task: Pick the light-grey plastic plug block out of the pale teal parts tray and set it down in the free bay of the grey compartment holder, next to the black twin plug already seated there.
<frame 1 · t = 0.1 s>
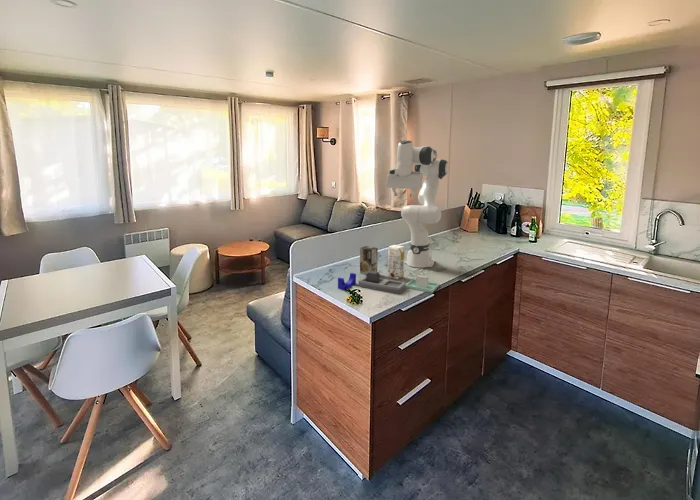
hand: (403, 196, 215), 48 cm above the table, fingers open, 8 cm apart
plug: (422, 281, 211), in the tray
coffee box: (368, 273, 236), on the table
juice carton: (395, 277, 228), on the table
tray: (422, 286, 212), on the table
grey compartment holder: (381, 287, 212), on the table
cable clip: (348, 286, 213), on the table
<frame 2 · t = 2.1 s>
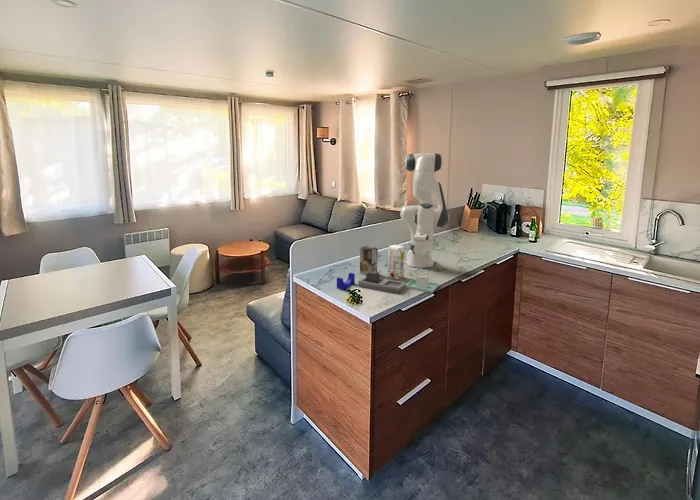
hand: (423, 259, 208), 16 cm above the table, fingers open, 8 cm apart
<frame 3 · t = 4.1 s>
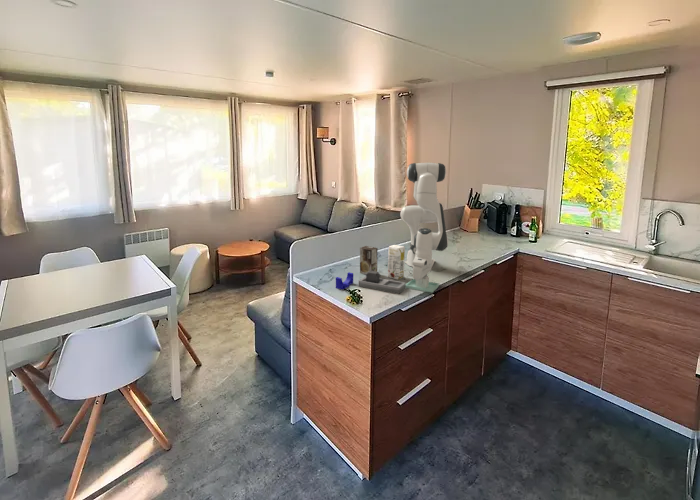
hand: (422, 283, 212), 2 cm above the table, fingers closed on plug, 4 cm apart
plug: (422, 281, 211), in the tray, touching gripper
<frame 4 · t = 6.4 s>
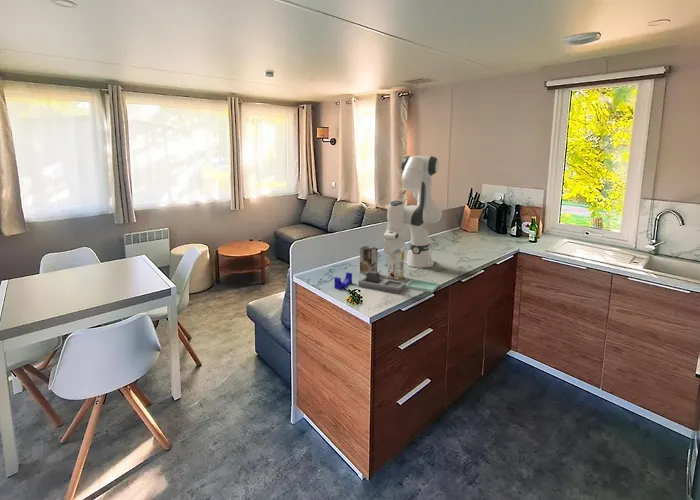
hand: (394, 258, 204), 18 cm above the table, fingers closed on plug, 4 cm apart
plug: (394, 256, 204), point 18 cm above the table, touching gripper
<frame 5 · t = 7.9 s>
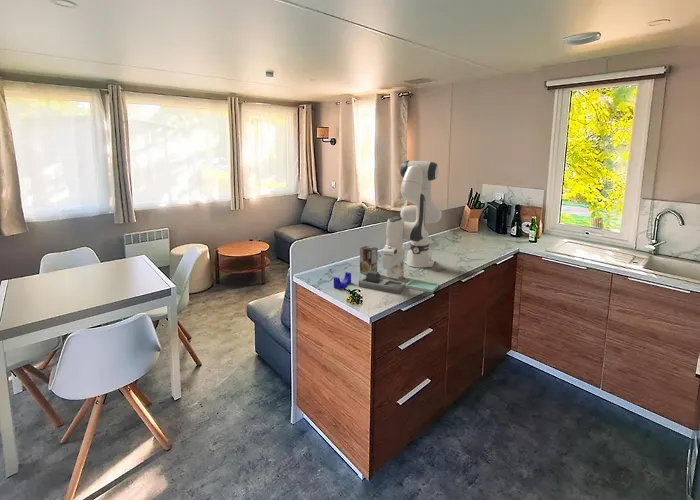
hand: (393, 272, 206), 9 cm above the table, fingers closed on plug, 4 cm apart
plug: (393, 271, 206), point 10 cm above the table, touching gripper
when the fingers open (6 cm above the table, at t = 9.0 s): plug drops 2 cm, resting on grey compartment holder.
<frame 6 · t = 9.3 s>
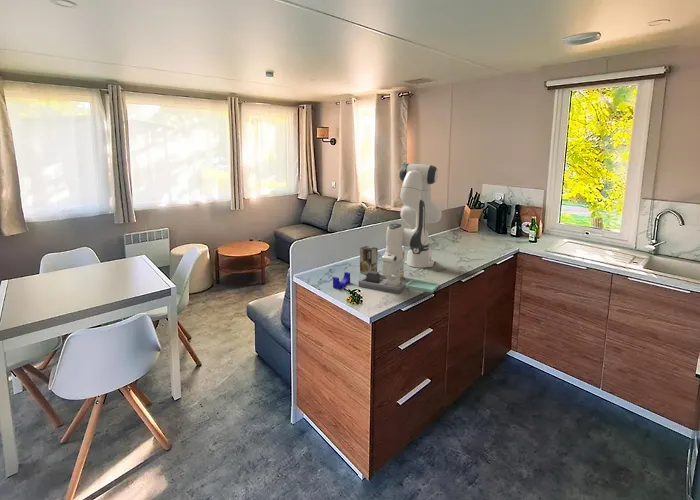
hand: (393, 279, 207), 6 cm above the table, fingers open, 7 cm apart
plug: (393, 280, 207), point 5 cm above the table, touching grey compartment holder
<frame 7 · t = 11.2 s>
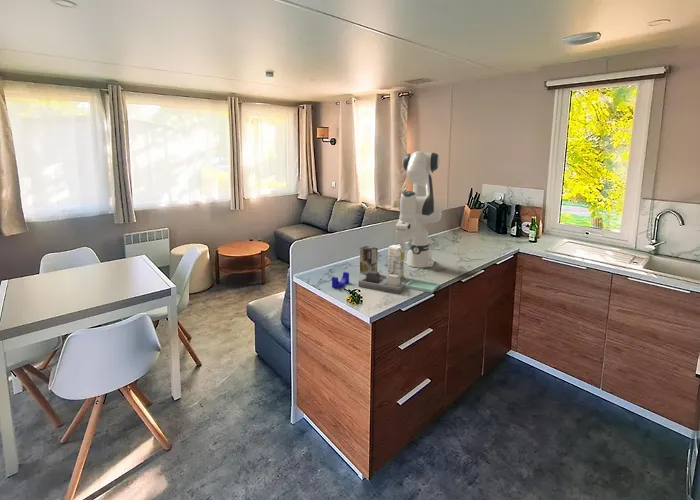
hand: (406, 248, 205), 22 cm above the table, fingers open, 8 cm apart
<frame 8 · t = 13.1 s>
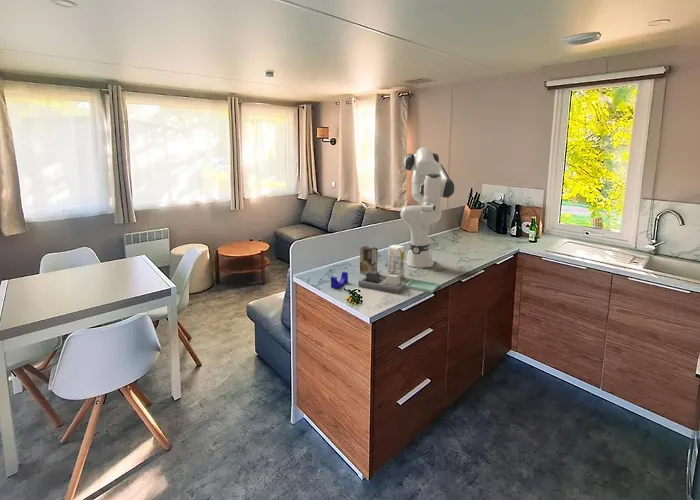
hand: (430, 231, 206), 31 cm above the table, fingers open, 8 cm apart
at the end: plug 0.1 cm from the target spot on the grey compartment holder, point 4.9 cm above the grey compartment holder's base; plug tilted 0°; the gripper is holding nothing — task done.
